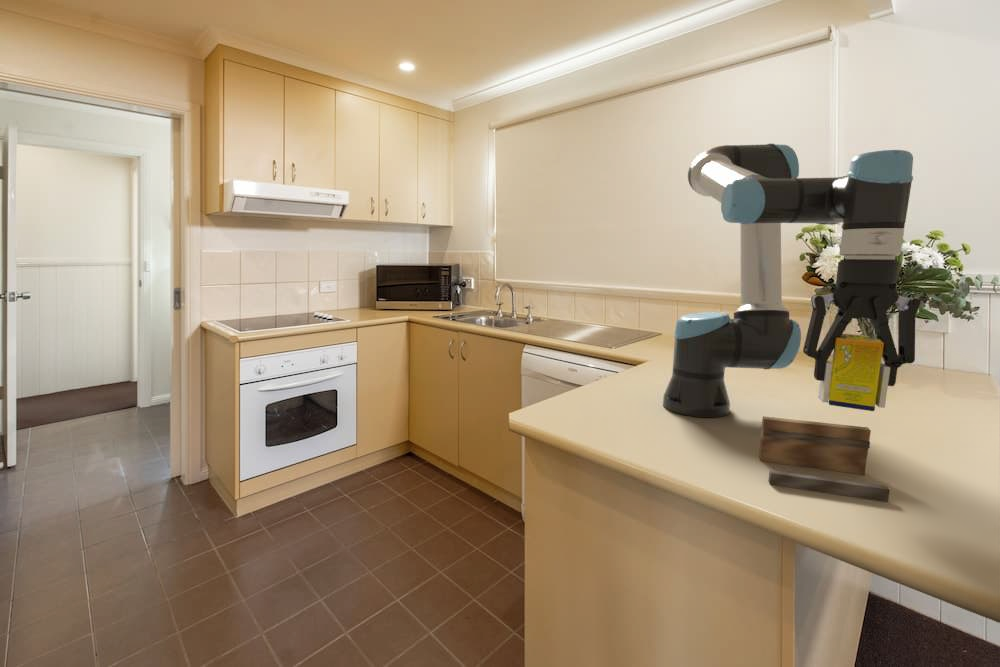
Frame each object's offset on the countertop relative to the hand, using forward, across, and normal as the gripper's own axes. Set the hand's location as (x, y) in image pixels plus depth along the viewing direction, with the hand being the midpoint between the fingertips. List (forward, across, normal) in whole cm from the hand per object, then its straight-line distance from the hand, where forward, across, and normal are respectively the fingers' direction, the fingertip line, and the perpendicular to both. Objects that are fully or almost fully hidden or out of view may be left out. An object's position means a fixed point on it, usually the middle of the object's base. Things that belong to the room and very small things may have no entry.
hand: (850, 402), depth 77 cm
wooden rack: (+14, -3, +1) cm, 14 cm away
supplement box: (+1, 0, 0) cm, 1 cm away
